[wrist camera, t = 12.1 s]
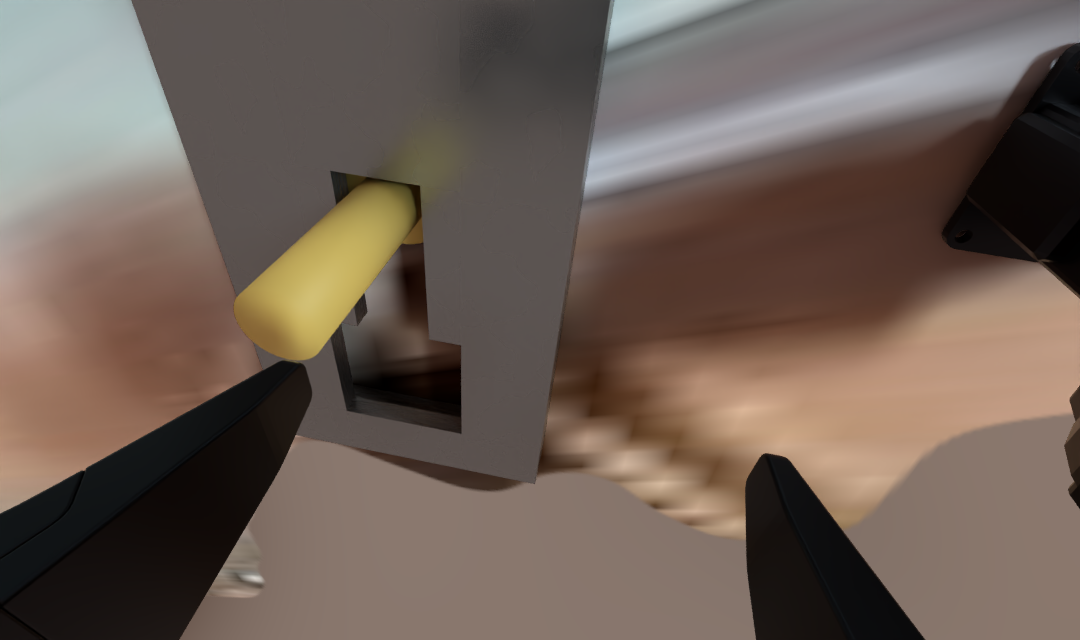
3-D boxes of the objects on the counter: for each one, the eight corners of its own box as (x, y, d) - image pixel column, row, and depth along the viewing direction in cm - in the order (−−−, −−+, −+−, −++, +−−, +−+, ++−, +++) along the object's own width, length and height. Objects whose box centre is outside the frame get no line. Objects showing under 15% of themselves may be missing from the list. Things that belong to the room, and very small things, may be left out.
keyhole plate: (616, -13, 15) (610, 0, 13) (543, 439, 29) (534, 483, 27) (184, -71, 16) (107, -68, 14) (313, 393, 30) (285, 432, 28)
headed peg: (460, 137, 19) (342, 274, 12) (460, 235, 22) (365, 395, 14) (353, 120, 19) (174, 243, 12) (366, 219, 22) (226, 368, 15)
